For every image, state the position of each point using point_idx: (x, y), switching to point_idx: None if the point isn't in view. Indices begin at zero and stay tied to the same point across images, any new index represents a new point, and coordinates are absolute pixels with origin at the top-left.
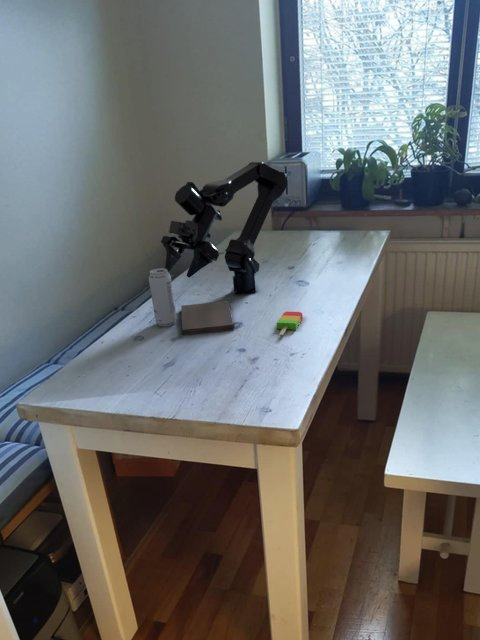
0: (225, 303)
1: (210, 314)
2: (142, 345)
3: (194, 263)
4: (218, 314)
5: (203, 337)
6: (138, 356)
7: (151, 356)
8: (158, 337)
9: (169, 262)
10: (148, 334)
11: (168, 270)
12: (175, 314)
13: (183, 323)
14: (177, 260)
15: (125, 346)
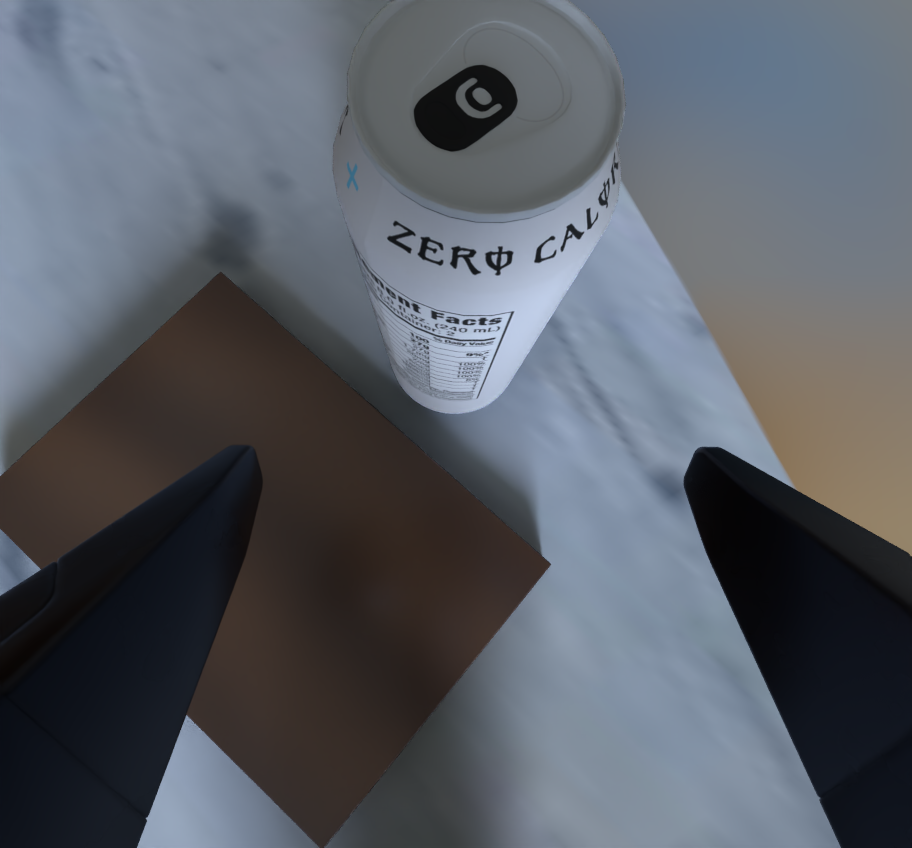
0: (296, 789)
1: None
2: (325, 99)
3: (17, 593)
4: None
5: (105, 323)
6: (241, 14)
7: (185, 41)
8: (332, 201)
9: (786, 557)
10: None
11: (699, 500)
12: (397, 375)
13: (288, 344)
14: (818, 782)
15: None
